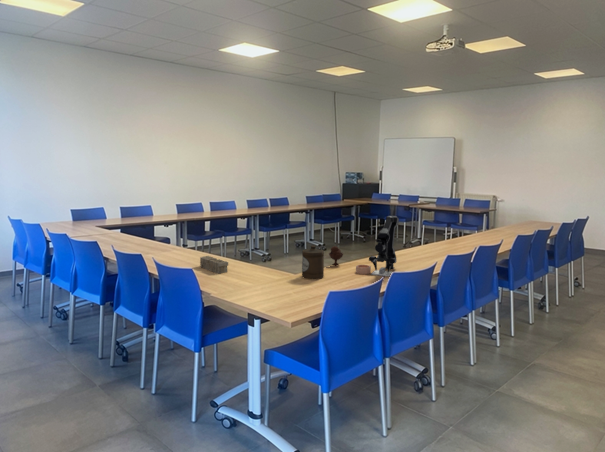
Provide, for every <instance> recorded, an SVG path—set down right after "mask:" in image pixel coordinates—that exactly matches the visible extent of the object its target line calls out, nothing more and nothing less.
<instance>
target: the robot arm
mask: <svg viewBox="0 0 605 452" xmlns="http://www.w3.org/2000/svg"><path fill="white" fill-rule="evenodd" d="M399 222H400V219H399V217H398V216H394V215H392V216H391V215H389V216H386V217H385V222H384V224H383V227H382V228H381V230H379V232H378V234H377V237H376V243H377V244H376V245H375V247H374V250H375V251H376V252H377V253H378V254H377V256H376V255H371V256H369V257H368V262H371V263H372V264H373V266H374V271H375V270H376V271H377V270H378V263H384V262H385V270H387V271H388V272H389V271H390V270H394V269H395V267H394V264H396V263H397V255H396V251H395V248H394V243H395V233H396V228H397V226H398V225H399ZM377 262H378V263H377Z"/></svg>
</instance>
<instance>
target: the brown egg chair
mask: <svg viewBox="0 0 605 452" xmlns="http://www.w3.org/2000/svg"><path fill="white" fill-rule="evenodd" d="M341 251H342V250H341V249H340V248H339V247H338V246H336V245H333V246H332V247H331V248H330V252H328V255H329V257H330V258H331V259H332V260H333V261H334V263H332V266H334V267H337V266H336V265H339V266H340V264H339V263H338V261H339V260H340V259H342V258H343V256H344V253H343V252H341Z"/></svg>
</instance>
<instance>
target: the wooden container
mask: <svg viewBox="0 0 605 452" xmlns="http://www.w3.org/2000/svg"><path fill="white" fill-rule="evenodd" d="M301 253H302V259H301V260H302V261H301V277H302V278H303V277H304V279H307V280H320V279H323V278H324V277H325V276H324V274H325V273H324V272H325V268H324V267H325V266H324V265H325V263H324V260H325V259H324V257H325V256H324V254H325V252H324V250H323V249H317V248H316V245H315V244H312V245H311V246H310V248H307V249H306V248H305V249H303V250H302V252H301Z"/></svg>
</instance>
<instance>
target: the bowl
mask: <svg viewBox="0 0 605 452" xmlns="http://www.w3.org/2000/svg"><path fill="white" fill-rule="evenodd" d="M371 267H372V266H370V265H368V264H357V265H355V273H356V274H359V275H370V274H371V273H372V272H371V270H372V269H371Z"/></svg>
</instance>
